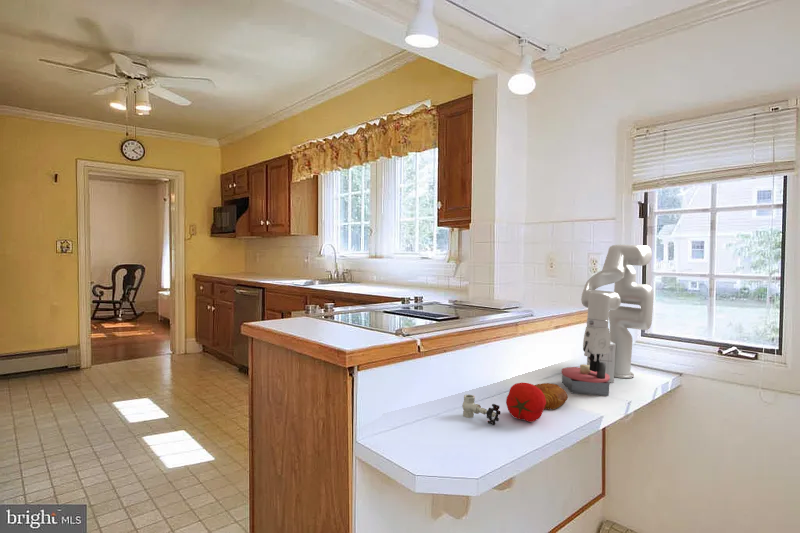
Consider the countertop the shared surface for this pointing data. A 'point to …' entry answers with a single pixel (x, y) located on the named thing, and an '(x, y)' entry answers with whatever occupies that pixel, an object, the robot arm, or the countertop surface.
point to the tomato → (525, 401)
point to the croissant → (553, 395)
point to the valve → (479, 409)
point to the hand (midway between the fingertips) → (594, 370)
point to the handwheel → (587, 373)
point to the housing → (585, 387)
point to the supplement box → (608, 362)
